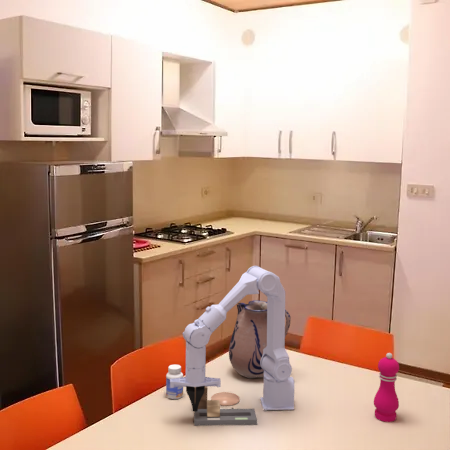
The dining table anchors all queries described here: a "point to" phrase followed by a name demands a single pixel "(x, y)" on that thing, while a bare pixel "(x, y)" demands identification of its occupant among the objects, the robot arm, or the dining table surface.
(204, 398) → the block
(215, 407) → the switch tab
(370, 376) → the dining table surface
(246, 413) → the switch panel
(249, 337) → the ceramic pitcher
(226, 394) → the coaster
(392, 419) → the pepper mill
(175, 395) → the pill bottle
